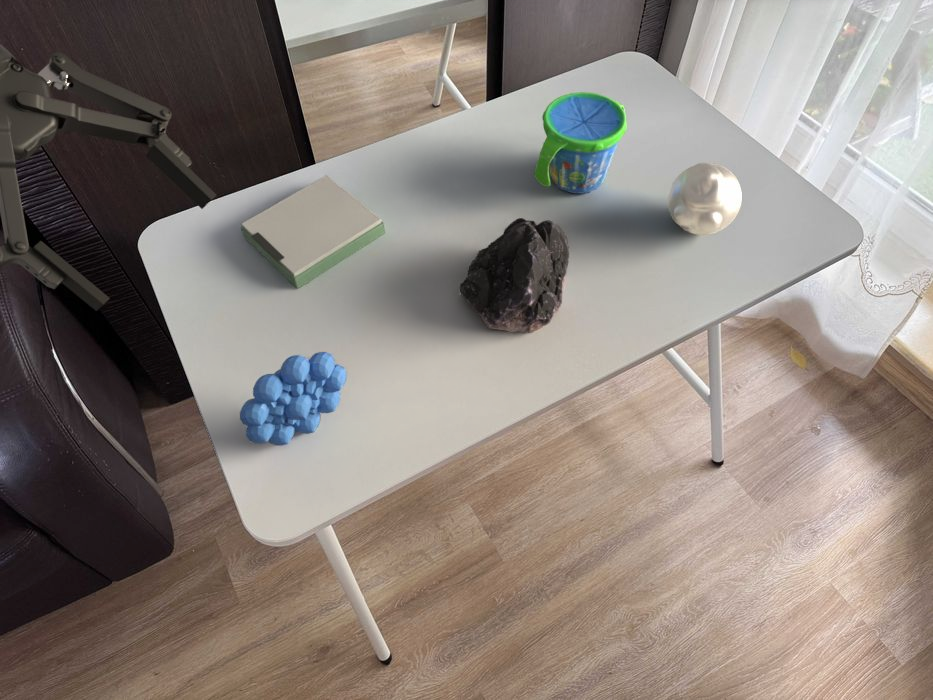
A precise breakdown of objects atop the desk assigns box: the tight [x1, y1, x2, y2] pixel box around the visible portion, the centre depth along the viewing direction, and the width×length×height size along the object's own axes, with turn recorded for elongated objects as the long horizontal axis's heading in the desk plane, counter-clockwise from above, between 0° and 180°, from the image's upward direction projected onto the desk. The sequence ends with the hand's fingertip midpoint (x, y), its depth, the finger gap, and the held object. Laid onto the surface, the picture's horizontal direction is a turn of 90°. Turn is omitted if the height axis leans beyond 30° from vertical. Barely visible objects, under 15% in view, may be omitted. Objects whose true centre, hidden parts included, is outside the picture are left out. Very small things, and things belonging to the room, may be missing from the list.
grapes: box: [239, 351, 348, 447], centre depth 73 cm, size 12×7×12 cm, turn 122°
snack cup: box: [534, 91, 628, 195], centre depth 95 cm, size 16×10×10 cm
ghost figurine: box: [667, 162, 743, 236], centre depth 89 cm, size 9×10×10 cm
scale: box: [240, 174, 386, 289], centre depth 93 cm, size 14×13×3 cm
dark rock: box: [459, 217, 570, 334], centre depth 84 cm, size 13×14×10 cm
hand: (159, 251), depth 62 cm, fingers open, 13 cm apart
